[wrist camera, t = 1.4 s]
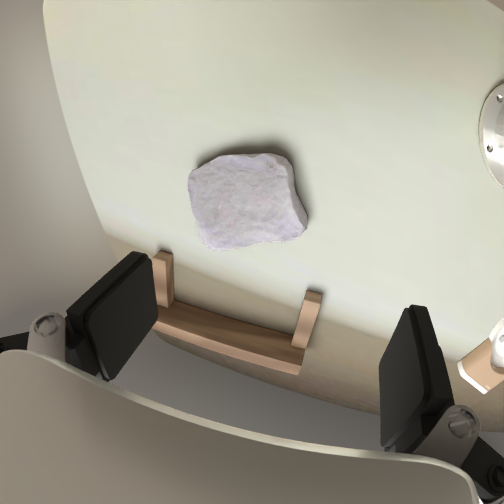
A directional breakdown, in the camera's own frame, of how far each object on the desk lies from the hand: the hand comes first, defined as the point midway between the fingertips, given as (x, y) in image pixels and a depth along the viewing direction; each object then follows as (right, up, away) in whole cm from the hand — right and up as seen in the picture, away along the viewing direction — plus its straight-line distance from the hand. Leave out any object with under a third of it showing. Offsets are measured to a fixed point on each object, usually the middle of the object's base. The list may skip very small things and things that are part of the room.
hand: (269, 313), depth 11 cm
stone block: (-1, +9, +23) cm, 25 cm away
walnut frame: (-3, -5, +30) cm, 31 cm away
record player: (+39, -10, +20) cm, 45 cm away
